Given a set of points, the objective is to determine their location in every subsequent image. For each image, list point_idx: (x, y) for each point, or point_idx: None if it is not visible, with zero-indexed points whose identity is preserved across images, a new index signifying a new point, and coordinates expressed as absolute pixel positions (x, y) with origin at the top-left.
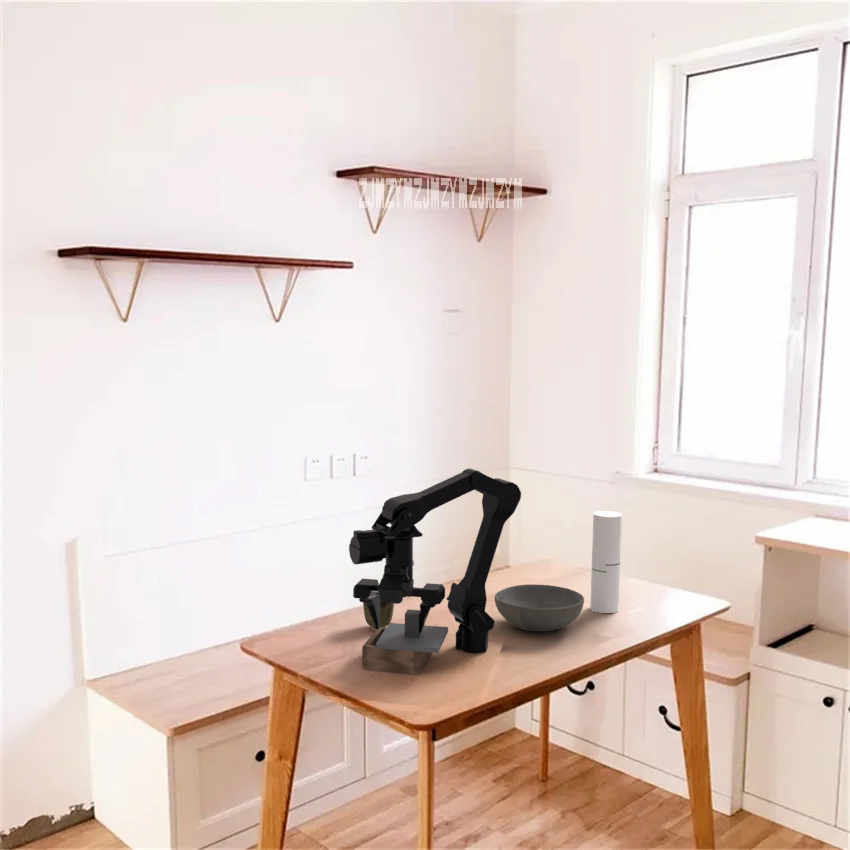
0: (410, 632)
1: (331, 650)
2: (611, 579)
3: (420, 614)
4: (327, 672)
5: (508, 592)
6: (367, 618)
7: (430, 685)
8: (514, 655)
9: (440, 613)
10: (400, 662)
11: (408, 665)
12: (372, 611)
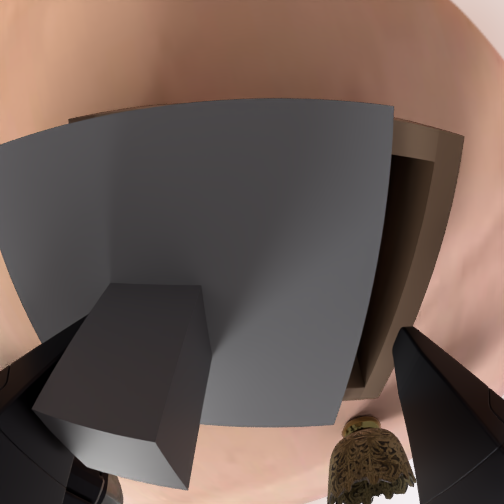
0: (150, 307)
1: (486, 304)
2: None
3: (5, 400)
4: (501, 128)
5: (115, 501)
6: (397, 443)
7: (87, 79)
8: (16, 345)
9: (240, 481)
10: None
11: (161, 105)
12: (499, 412)
